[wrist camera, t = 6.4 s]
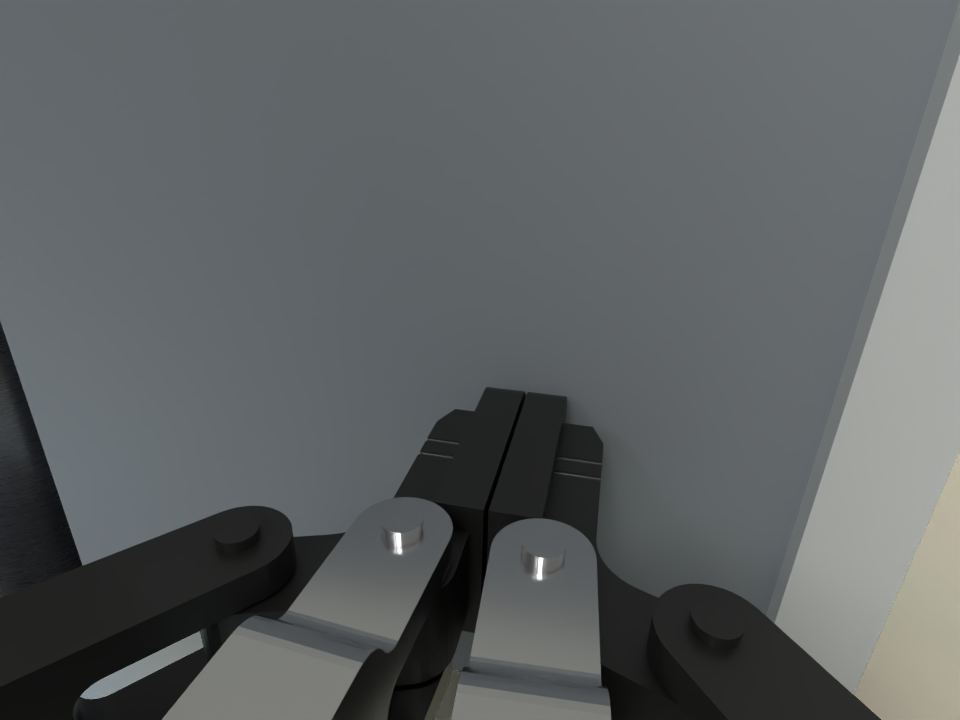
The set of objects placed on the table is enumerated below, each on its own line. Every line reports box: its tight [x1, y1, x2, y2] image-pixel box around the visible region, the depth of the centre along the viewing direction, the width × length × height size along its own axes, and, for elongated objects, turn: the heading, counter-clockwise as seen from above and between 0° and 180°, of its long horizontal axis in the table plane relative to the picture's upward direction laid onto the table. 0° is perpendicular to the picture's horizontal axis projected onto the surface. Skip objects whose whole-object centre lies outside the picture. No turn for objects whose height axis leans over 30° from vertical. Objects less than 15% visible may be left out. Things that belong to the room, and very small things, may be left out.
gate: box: [0, 0, 960, 695], centre depth 12 cm, size 18×2×15 cm, turn 79°
